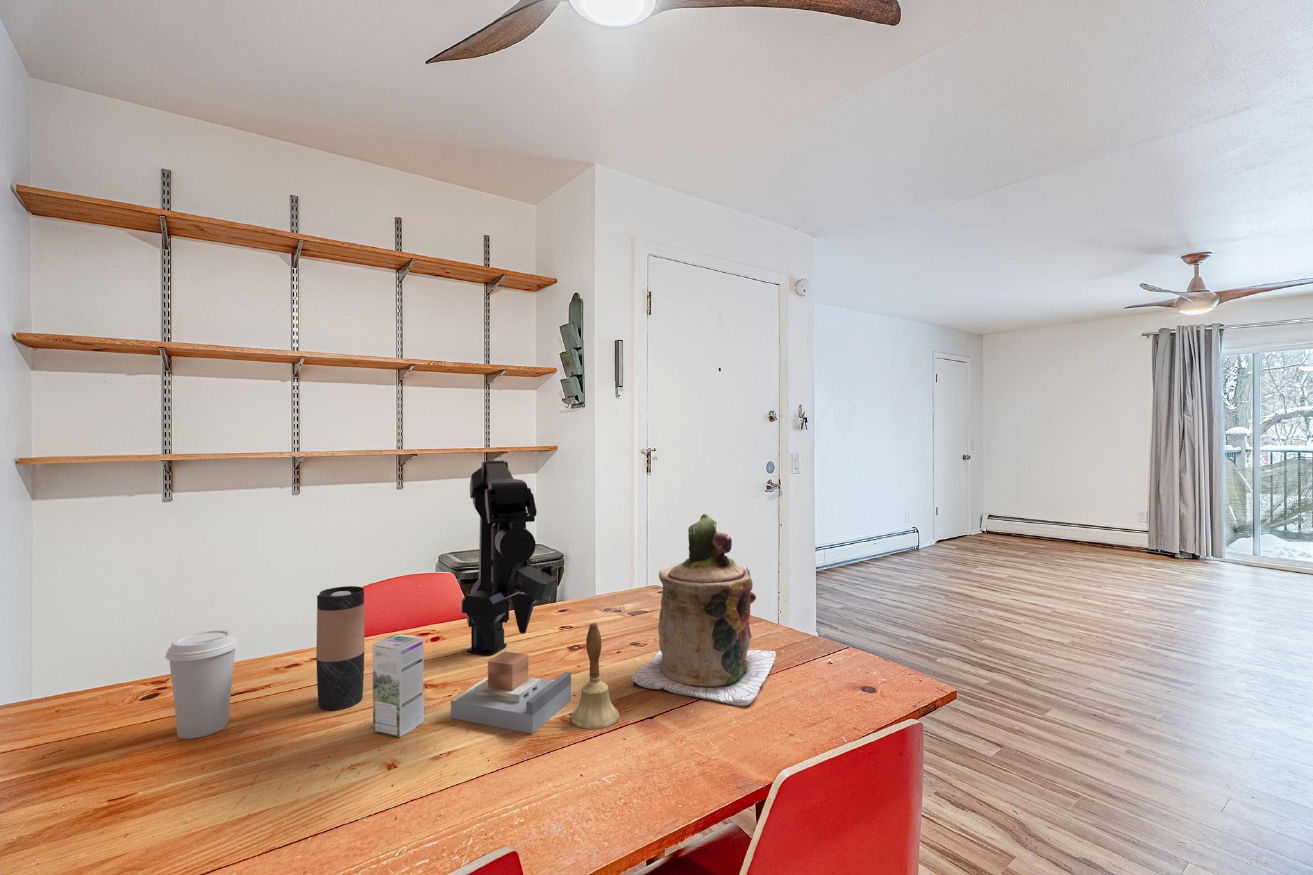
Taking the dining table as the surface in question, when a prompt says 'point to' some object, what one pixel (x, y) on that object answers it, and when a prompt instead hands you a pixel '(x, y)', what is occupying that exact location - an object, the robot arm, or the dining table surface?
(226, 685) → the coffee cup
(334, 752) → the dining table surface
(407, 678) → the syrup box
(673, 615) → the cookie jar
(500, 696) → the pallet
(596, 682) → the hand bell
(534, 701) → the dock
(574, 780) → the dining table surface
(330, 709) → the travel mug
